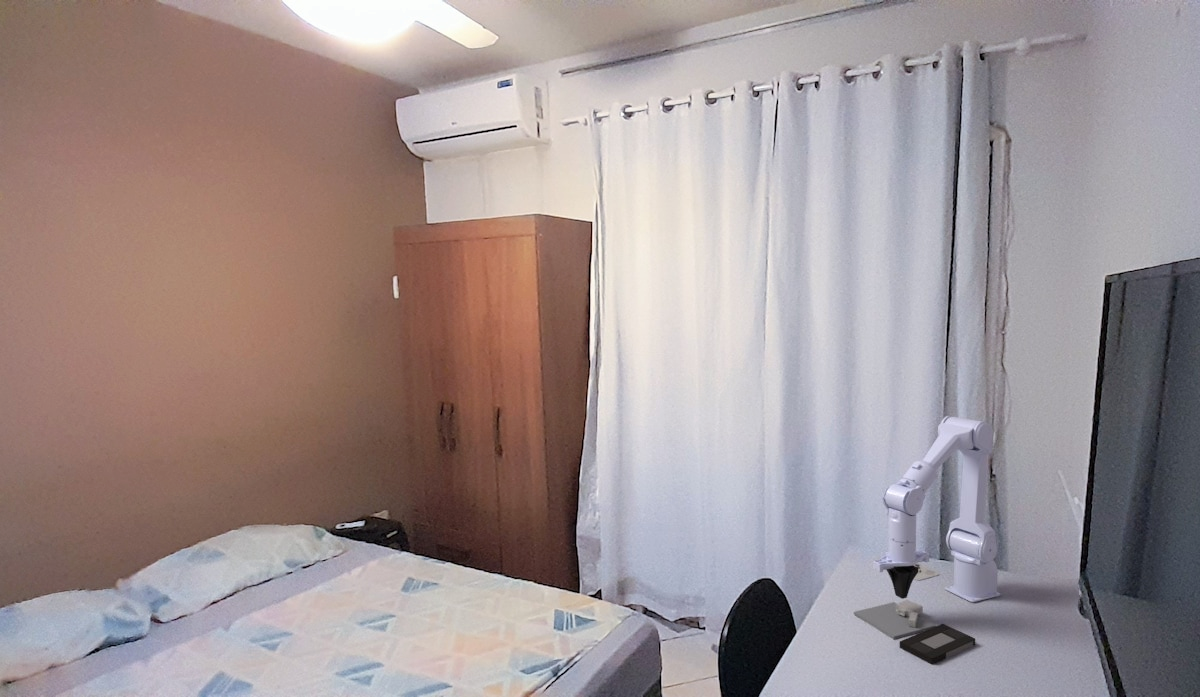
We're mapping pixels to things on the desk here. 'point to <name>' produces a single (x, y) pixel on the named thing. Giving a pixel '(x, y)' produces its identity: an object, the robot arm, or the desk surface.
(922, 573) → the handheld gaming device
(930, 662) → the vhs tape
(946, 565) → the desk surface
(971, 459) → the robot arm
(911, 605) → the lighter
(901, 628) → the mat
